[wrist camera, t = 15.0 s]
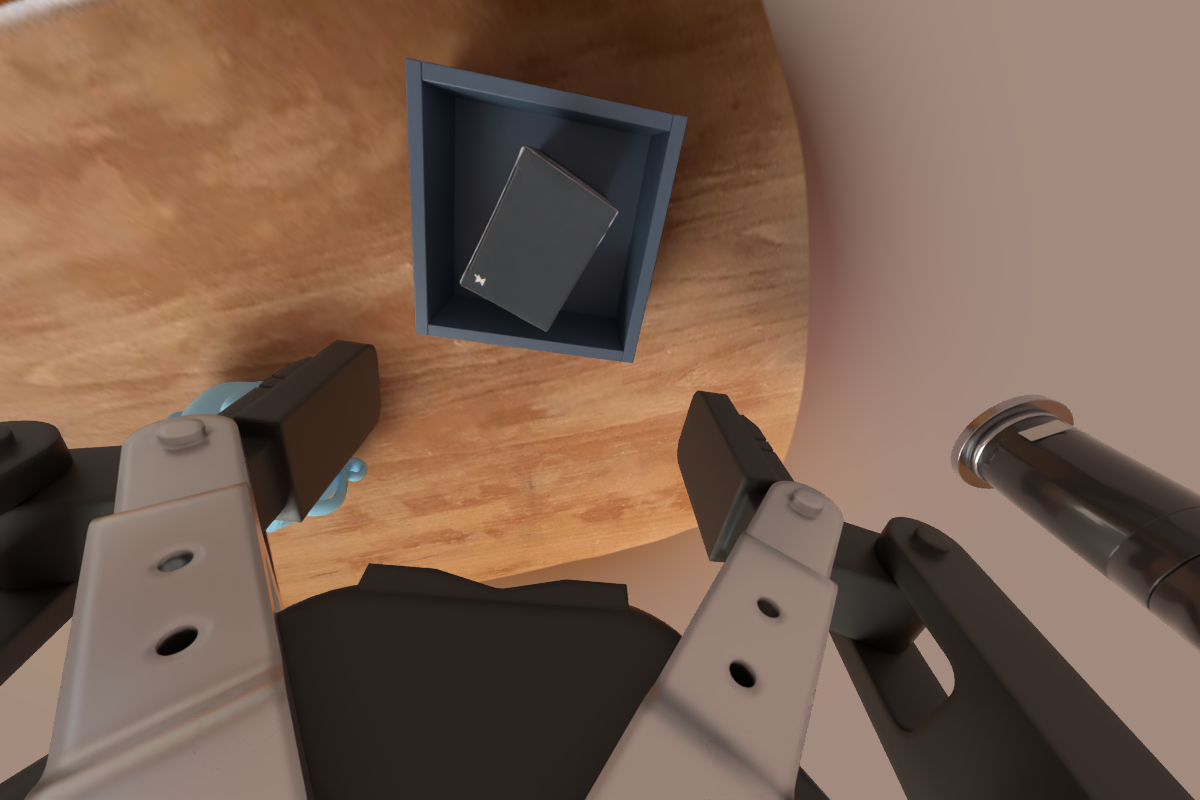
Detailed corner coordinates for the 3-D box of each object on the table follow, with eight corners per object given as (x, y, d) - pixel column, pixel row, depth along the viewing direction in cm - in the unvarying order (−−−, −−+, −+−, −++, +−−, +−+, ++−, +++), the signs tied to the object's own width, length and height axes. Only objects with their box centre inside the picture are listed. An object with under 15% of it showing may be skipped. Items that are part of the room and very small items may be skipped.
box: (554, 287, 34) (546, 335, 25) (488, 248, 32) (453, 284, 23) (608, 195, 31) (621, 211, 22) (538, 146, 29) (521, 140, 20)
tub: (663, 126, 30) (688, 117, 23) (622, 326, 37) (633, 363, 30) (444, 80, 28) (404, 57, 21) (445, 300, 35) (415, 334, 28)
